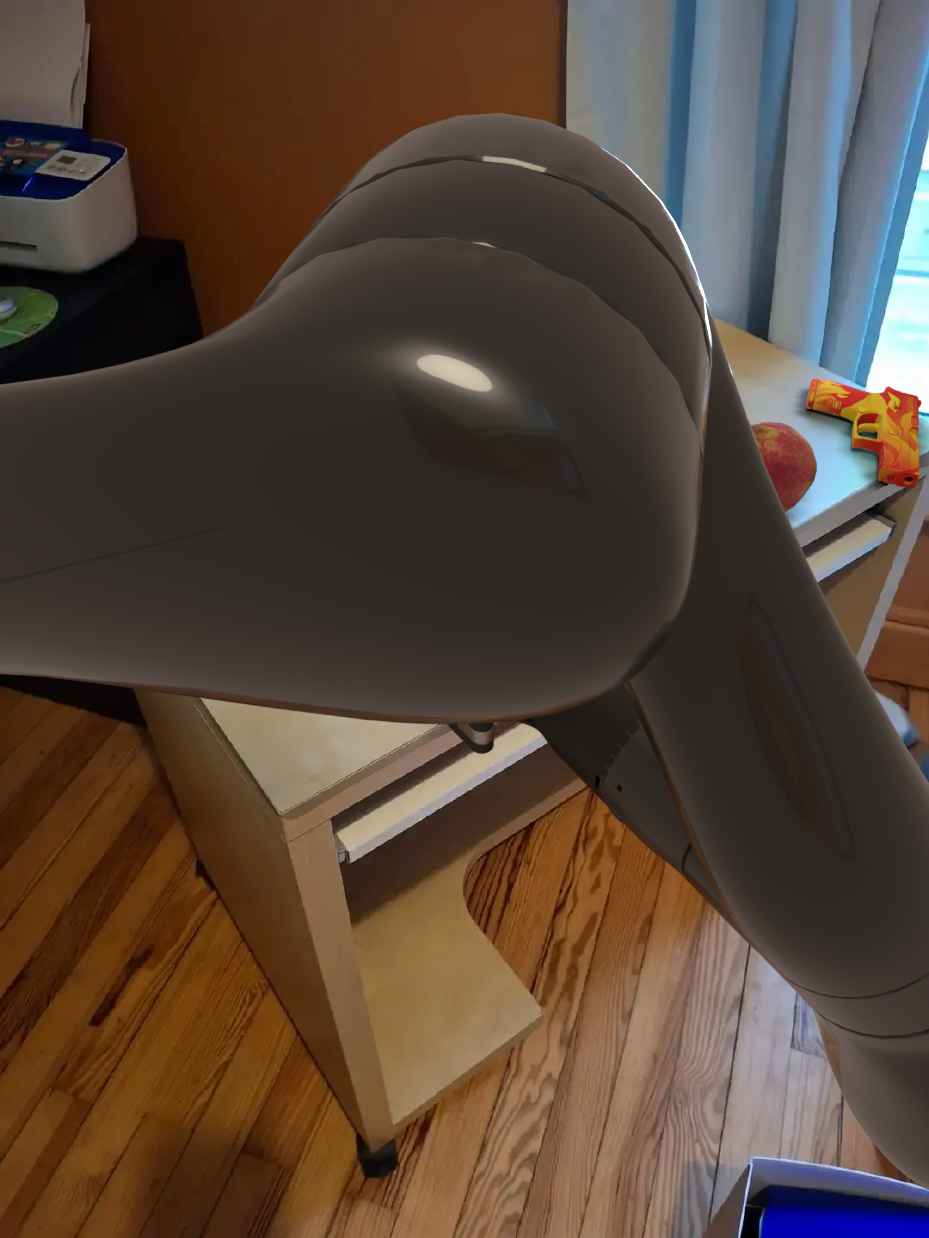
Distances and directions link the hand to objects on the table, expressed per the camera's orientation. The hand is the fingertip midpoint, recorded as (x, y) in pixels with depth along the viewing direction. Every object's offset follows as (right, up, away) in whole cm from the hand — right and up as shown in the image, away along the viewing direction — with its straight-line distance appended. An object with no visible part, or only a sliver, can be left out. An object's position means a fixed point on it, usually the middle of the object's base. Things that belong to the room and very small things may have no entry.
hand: (470, 571), depth 54 cm
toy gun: (+31, +16, +33) cm, 48 cm away
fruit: (+22, +6, +21) cm, 31 cm away
